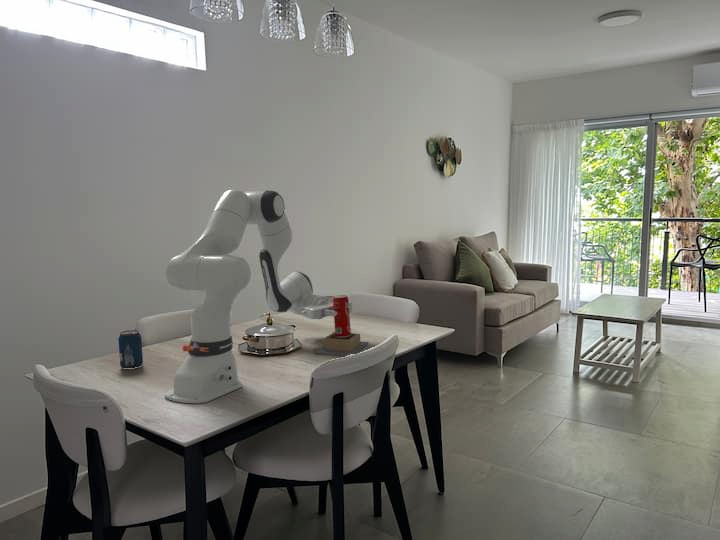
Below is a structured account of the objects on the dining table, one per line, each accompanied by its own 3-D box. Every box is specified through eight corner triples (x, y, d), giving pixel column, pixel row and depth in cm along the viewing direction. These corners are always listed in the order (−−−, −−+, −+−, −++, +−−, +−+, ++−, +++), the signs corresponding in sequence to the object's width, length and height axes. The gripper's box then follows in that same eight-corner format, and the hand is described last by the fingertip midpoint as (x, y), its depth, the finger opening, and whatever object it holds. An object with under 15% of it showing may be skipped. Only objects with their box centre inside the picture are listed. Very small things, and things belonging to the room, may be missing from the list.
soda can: (138, 363, 180) (135, 328, 179) (146, 367, 175) (144, 332, 174) (117, 367, 175) (114, 332, 174) (125, 372, 171) (122, 336, 169)
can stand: (351, 357, 184) (351, 343, 183) (314, 354, 188) (314, 340, 188) (368, 344, 200) (367, 331, 200) (333, 341, 205) (333, 329, 204)
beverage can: (349, 338, 191) (348, 297, 189) (331, 337, 192) (331, 297, 190) (352, 334, 196) (351, 294, 194) (335, 333, 197) (334, 294, 196)
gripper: (296, 303, 194) (322, 308, 184) (336, 295, 208) (362, 299, 199) (296, 319, 194) (322, 325, 185) (336, 311, 209) (362, 315, 200)
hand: (343, 312), depth 192 cm, fingers closed on beverage can, 6 cm apart
